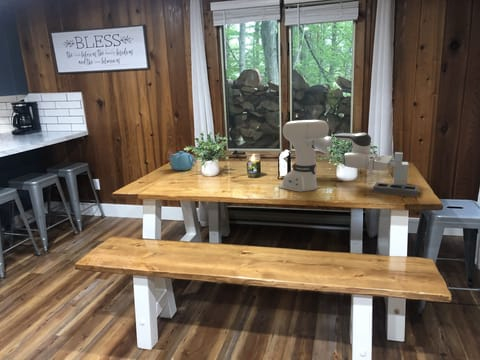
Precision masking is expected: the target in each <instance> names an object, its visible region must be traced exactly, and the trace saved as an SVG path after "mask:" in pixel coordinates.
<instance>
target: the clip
mask: <svg viewBox="0 0 480 360" xmlns="http://www.w3.org/2000/svg"><path fill="white" fill-rule="evenodd" d="M403 153H404V152H400V151H399V152H398V151H395V152H394V156H393V159H394V162H395V163H396V162H399V166H393V169H392V170H393V172H392V178H394V177H395V178H400V177H401V171H402V162H403V157H404V156H403Z"/></svg>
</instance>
